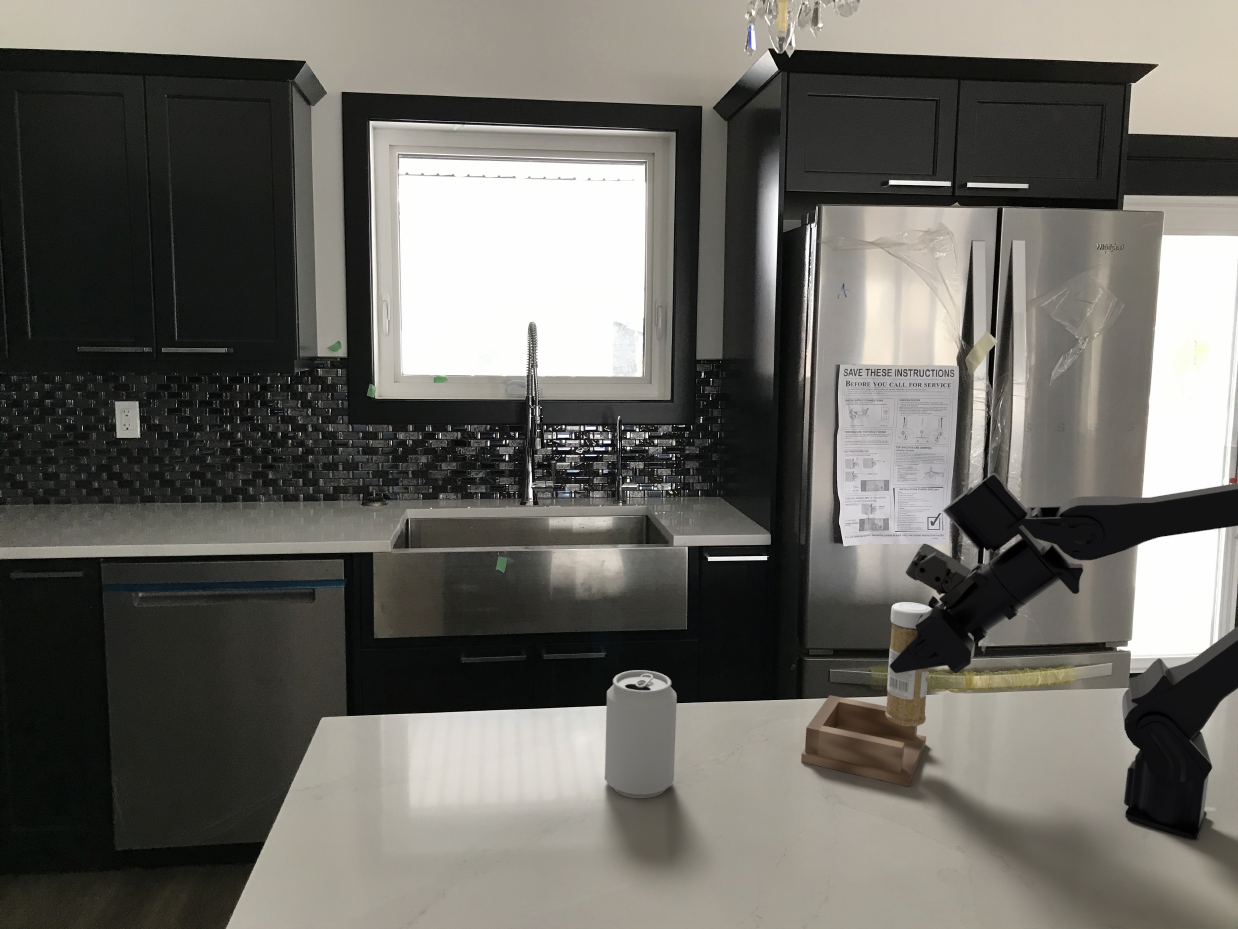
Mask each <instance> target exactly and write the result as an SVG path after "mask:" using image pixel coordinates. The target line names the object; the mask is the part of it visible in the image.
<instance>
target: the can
mask: <svg viewBox="0 0 1238 929" xmlns="http://www.w3.org/2000/svg"><path fill="white" fill-rule="evenodd" d="M671 686H672V680H671V679H670V677H668V676H667V675H664V674H663V673H660V672H657V671H654V670H653V671H651V670H645V669H643V670H641V669H640V670H639V669H638V670H628V671H624V672H621V673H619V674H616V675H615V676H614V678H612V685H611V686H610V688H608V690H606V716H605V717H606V720H605V752H604V753H605V756H604V757H605V758H604V759H605V760H604V762H605V763H604V780H605V781H606V783H607V784H608V786H610V787H611V788H612V789H613V791H615V792H616V793H618V794H619V795H622V796H624V797H627V798H633V799H648V798H649V799H650V798H653V797H657V796H659V795H660V794H662V793H664V792H665V790H667V789H668V788H669V787H671V786H672V784H673V783H674V779H675V758H676V757H675V755H676V754H675V753H676V750H675V749H676V730H677V729H676V727H677V726H676V725H677V724H676V723H677V704H678V703H677V699H678V698H677V697H678V696H677V692H676V691H675V690H674V689H673V688H672V687H671Z"/></svg>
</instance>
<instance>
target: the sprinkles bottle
mask: <svg viewBox="0 0 1238 929" xmlns="http://www.w3.org/2000/svg"><path fill="white" fill-rule="evenodd" d="M931 609H932V608H930V607H929V606H928V605H926V604H923V603H919V602H918V603H917V602H911V601H909V602H908V601H907V602H906V601H905V602H904V601H903V602H896V603H894V604H893V605H892V606H891V612H890V621H891V630H890V631H891V635H890V645H889V655H888V656H889V657H888V670H887V686H886V690H887V695H886V696H887V698H886V700H887V701H886V706H887V709H886V712H885V716H886V718H887V719H888V720H889V721H891V722H893V723H895V724H898V725H902V726H917V727H918V726H921V725H923V724H924V723H925V722H926V719H927V718H926V717H927V716H926V707H927V706H926V702H927V700H926V699H927V694H928V681H929V680H928V678H929V677H928V676H929V668H925V669H919V670H913V671H907V672H901V673H894V672H893V670H892V669H891V668H890V664H891V663H892V662H893V661H894V660H895V659H896V657H897V656H898V655H899V654H900V653H901V652H902V651H903V650H904V649H905V648H906V647H907V646H908V645H909V643H910V642H911V641H912V640H913V639H914V638H915V637H916V636H917V629H916V627H915V625H916V624H917V621H918V619H919V617H920V616H921V614H922V615H925V614H926V613H927V612H928V611H930V610H931Z"/></svg>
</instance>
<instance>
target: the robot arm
mask: <svg viewBox="0 0 1238 929" xmlns="http://www.w3.org/2000/svg"><path fill="white" fill-rule="evenodd" d="M942 512H943V513H944V514H945V515H946V517H947V518H949V519H950V521H951V522H952V523H953V525H955V526H956V527H957V528H958V530H959V531H960V532H961V533H962V534H963V535H964V536H965V537H966V538H967V539H968V541H969V542H970V543H971V544H972V545H973V547H975V548H976V550H977V551H979V550H982V549H985V551H986V552H987V551H989V550H990V551H991V552H992V553H995V552H996V551H998V550H1000V549H1001V548H1002V547H1003V546H1005V545H1007V543H1009V542H1011V540H1013V539H1014V538H1015V537H1017V536H1018V535H1019V536H1020V537H1021V538H1020V539H1018V540H1017V541H1015V542H1014V543H1013V544H1012V545H1010V546H1009V547H1007V548H1006V549H1005V550H1004V551H1002V552H1001V553H1000V554H998V555H997V556H996V557H994V558H993V559H991V560H990V561H988V562H987V563H986V564H985V562H983V563H977V564H976V565H975V566H973V567H971V568H969V567H967V566H966V565H964V564H962V563H961V562H960V561H958V560H956V558H953V557H952V556H950V555H948V554H946V553H945V552H943V551H941V550H939V549H938V548H936V547H933V546H932V545H930V544H928V543H922V545H921V546H920V547H919V548H918V550H917V552H916V554H915V555H914V557H913V558H912V560H911V561H910V564H909V565H908V567H907V569H906V570H905V574H906V575H907V577H909V578H911V579H912V580H913V581H919V582H920V583H923V585H926V586H928V587H930V588H931V589H932V590H934V591H935V592H936V593H937V595H939V596H940V597H939V598H937V597H935V596H934V595H932V596H931V598H930V599H929V601H928V604H927V606H929V607H930V608H932V609H931V610H930V611H928V612H927V613H926V614H925V615H922V614H921V616H920V617H919V619H918V621H917V624H916V625H915V627H916V629H917V636H916V637H915V638H914V639H913V640H912V641H911V642H910V643H909V645H908V646H907V647H906V648H905V649H904V650H903V651H902V652H901V653H900V654H899V655H898V656H897V657H896V659H895V660H894V661H893V662H892V663H891V664H890V668H891V669H892V670H893V672H894V673H901V672H907V671H913V670H919V669H925V668H928V669H931V668H938V667H946V666H947V667H948V669H949V670H950V671H951V672H953V673H954V674H958V673H959V672H960V671H962V670H964V669H965V668H967V667H968V666H969V665H971V664H972V661H973V657H974V655H975V646H976V642H977V643H979V642H980V641H982V640H984V639H985V638H986V636H987V633H988V632H989V631H990V630H992V629H993V628H994V627H997V625H998V624H1000V623H1001V622H1003V621H1004V620H1005V619H1007V620H1008V621H1011V620H1012V619H1013V618H1015V617H1017V616H1018V612H1019V610H1020V609H1021V608H1023V607H1024V606H1026V605H1028V604H1029V603H1030V602H1031V601H1033V600H1034V599H1037V597H1039V596H1041V595H1042V594H1043V593H1044V592H1045V591H1047V590H1049V589H1050V588H1052V587H1053V586H1054V585H1056V584H1057V583H1059V582H1060V581H1061V582H1062V583H1063V585H1065V586H1064V587H1065V588H1067V589H1068V590H1069V591H1070V592H1071V593H1072V594H1073V595H1078V594H1079V593H1080V582H1081V578H1082V575H1083V573H1084V565H1083V564H1082V563H1073V562H1069V560H1068V559H1067V558H1066V557H1065V556H1064V555H1063V554H1065V555H1067V556H1069V557H1070V558H1072V559H1073V560H1077V561H1093V560H1094V561H1095V560H1098V559H1100V558H1104V557H1108V556H1111V555H1114V554H1117V553H1121V552H1124V551H1126V550H1129V549H1131V548H1134V547H1137V546H1139V545H1141V544H1143V543H1145V542H1148V541H1151V540H1152V541H1153V540H1155V539H1158V538H1162V537H1171V536H1178V535H1183V534H1190V533H1197V532H1203V531H1205V532H1206V531H1212V530H1218V529H1220V530H1221V529H1224V528H1232V527H1238V483H1235V482H1234V483H1231V484H1230V483H1229V484H1225V485H1218V486H1212V487H1205V488H1199V489H1193V490H1187V491H1181V492H1174V493H1168V494H1163V495H1155V496H1151V497H1131V496H1118V495H1117V496H1115V495H1107V496H1103V495H1100V496H1094V495H1093V496H1092V495H1091V496H1077V497H1073V498H1071V499H1068V500H1067V501H1065V502H1063V503H1062V504H1061V505H1057V506H1056V505H1055V506H1039V505H1038V506H1029V507H1027V508H1026V506H1024V505H1023V503H1021V501H1020V500H1019V499H1018V497H1016V495H1015V494H1013V492H1012V491H1010V490H1009V488H1008V487H1007V484H1006V483H1005V482H1004V480H1003V479H1002V478H1001V477H1000V476H999V475H998V474H997V473H996V472H992V473H991V474H989V476H987V477H986V478H985V479H983V480H981V481H979V482H978V483H977V484H976V485H974V486H973V487H972V486H969V488H967V489H966V490H965V491H964V492H963V493H961V494H959V496H957V497H956V498H954V499H953V501H952V502H950V503H949V504H948V505H947V506H946V507H945V508H943V510H942ZM1040 541H1043V542H1047V544H1045V545H1044V544H1043V543H1041V542H1040ZM1055 545H1056V546H1057V547H1058V548H1059V549H1060V550H1058V548H1057V547H1056V546H1055ZM1060 551H1062V553H1063V554H1062V553H1061V552H1060ZM942 594H943V595H942ZM969 634H970V635H971V636H972V637H973V638H972V637H971V636H970V635H969ZM975 641H976V642H975ZM1127 680H1128V688H1127V690H1125V692H1124V694H1123V695H1122V699H1121V706H1122V707H1121V709H1122V717H1123V718H1122V720H1123V727H1124V732H1125V734H1126V738H1127V739H1128V740H1129V741H1130V742H1131V743H1132V745H1133V746H1134V747H1136V748H1137V749H1138V751H1137V753H1136V755H1135V756H1134V760H1132V761H1131V763H1130V764H1129V766H1128V768H1127V772H1126V773H1127V774H1126V781H1125V791H1124V799H1123V804H1125V806H1127V809H1126V810H1125V814H1124V817H1125V818H1126V819H1128V820H1129V821H1130V820H1131V821H1133V822H1137V823H1140V824H1144V825H1147V826H1150V827H1153V828H1156V829H1160V830H1163V831H1166V832H1169V833H1173V834H1174V835H1175V834H1176V835H1179V836H1181V837H1185V838H1188V839H1191V840H1198V839H1199V837H1200V834H1201V832H1202V828H1203V827H1204V824H1205V821H1206V819H1207V815H1208V812H1207V811H1205V807H1206V800H1207V793H1208V792H1207V791H1208V783H1209V776H1210V772H1211V771H1212V770H1213V765H1212V762H1211V758H1210V755H1209V751H1208V749H1207V748H1208V747H1207V745H1206V741H1205V738H1204V734H1203V732H1202V730H1203V729H1204V727H1205V726H1206V724H1207V722H1208V721H1209V720H1210V718H1211V717H1212V715H1213V714H1214V712H1215V711H1216V710H1217V708H1218V706H1219V705H1220V703H1222V701H1223V700H1224V699H1225V698H1227V697H1228V696H1230V695H1231V694H1232V693H1233V692H1235V691H1236V690H1238V625H1237V626H1236V627H1235V628H1233V629H1232V630H1231V631H1229V632H1227V634H1226V635H1224V636H1222V637H1221V638H1220V639H1219V640H1217V641H1215V643H1213V644H1212V645H1210V646H1209V647H1208V648H1206V649H1205V650H1204V651H1202V652H1201V653H1199V654H1198V655H1197V656H1195V657H1194V658H1193V659H1191V660H1190V661H1187V662H1185V663H1182V664H1178V665H1175V666H1171V667H1168V666H1167V665H1166V663H1165V662H1164V661H1163V659H1162V658H1159V657H1158V658H1157V659H1155V661H1153V662H1152V663H1151V665H1150V666H1148V668H1147V669H1146V670H1145V671H1143V673H1141V674H1139V675H1137V676H1133V677H1130V678H1128V679H1127Z"/></svg>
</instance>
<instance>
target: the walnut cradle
mask: <svg viewBox="0 0 1238 929" xmlns="http://www.w3.org/2000/svg"><path fill="white" fill-rule="evenodd" d="M886 709H887V705H883V704H882V705H881V704H877V703H872V702H871V703H870V702H866V701H861V700H858V699H857V700H856V699H851V698H845V697H840V696H837V695H831V694H829V695H828V697H827V698H826V699H825V701H824V702H823V703H822V705H821V706H820V708H819V709H818V711H817V712H816V713H815V715H814V716H813V718H812V719H811V720H810V722H809V723H808V724H807V726H806V728H805V730H806V731H805V745H804V746H805V747H804V749H803V751H802V752H801V760H800V762H801V763H805V764H808V765H809V764H810V765H814V766H818V767H822V768H826V769H832V770H836V771H839V772H845V773H847V774H848V773H849V774H853V775H858V776H862V777H865V778H866V777H867V778H871V779H874V780H878V781H884V782H888V783H891V784H892V783H893V784H896V785H900V786H905V787H910V784H911V781H912V779H913V776H914V774H915V772H916V769H917V767H918V764H919V761H920V759H921V757H922V755H923V752H924V750H925V746H926V742H927V736H925V735H923V734H917V733H918V726H902V725H898V724H895V723H893V722H891V721H889V720H888V719H887V718H886V716H885V712H886Z"/></svg>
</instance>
